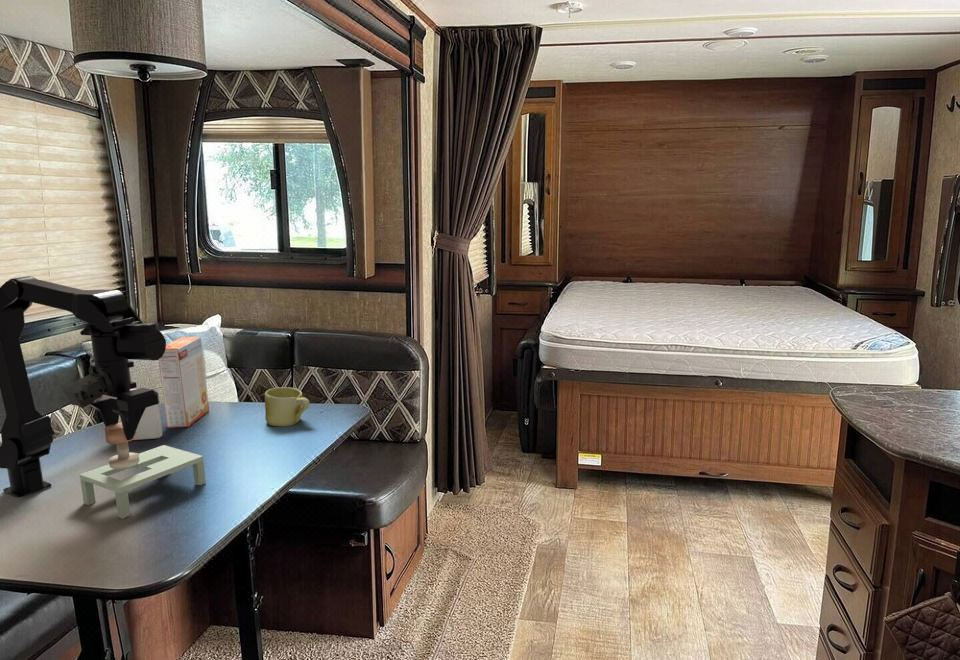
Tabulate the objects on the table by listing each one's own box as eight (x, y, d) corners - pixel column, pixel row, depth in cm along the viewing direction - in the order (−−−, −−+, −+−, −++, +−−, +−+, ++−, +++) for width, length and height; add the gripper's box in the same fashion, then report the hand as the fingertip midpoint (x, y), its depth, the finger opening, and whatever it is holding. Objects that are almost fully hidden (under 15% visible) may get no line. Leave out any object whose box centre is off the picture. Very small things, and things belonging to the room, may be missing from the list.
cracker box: (188, 411, 195) (180, 336, 191) (210, 410, 195) (202, 336, 191) (164, 428, 181) (155, 348, 177) (188, 428, 181) (179, 347, 177)
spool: (104, 465, 137) (98, 428, 136) (129, 456, 141) (124, 420, 140) (119, 470, 134) (114, 432, 133) (145, 461, 139) (140, 424, 137)
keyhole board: (83, 503, 138) (79, 474, 137) (166, 471, 153) (163, 445, 152) (122, 518, 131) (118, 488, 130) (205, 483, 146) (202, 456, 145)
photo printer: (115, 442, 172) (108, 393, 170) (122, 436, 176) (115, 388, 174) (159, 439, 173) (153, 390, 170) (165, 433, 177) (159, 386, 175)
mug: (249, 417, 182) (261, 380, 182) (280, 418, 191) (292, 383, 190) (278, 435, 175) (291, 397, 175) (310, 436, 184) (321, 399, 183)
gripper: (40, 362, 132) (52, 441, 135) (97, 374, 122) (108, 460, 125) (99, 349, 141) (109, 424, 144) (156, 360, 131) (165, 440, 134)
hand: (121, 437), depth 137 cm, fingers closed on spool, 5 cm apart
